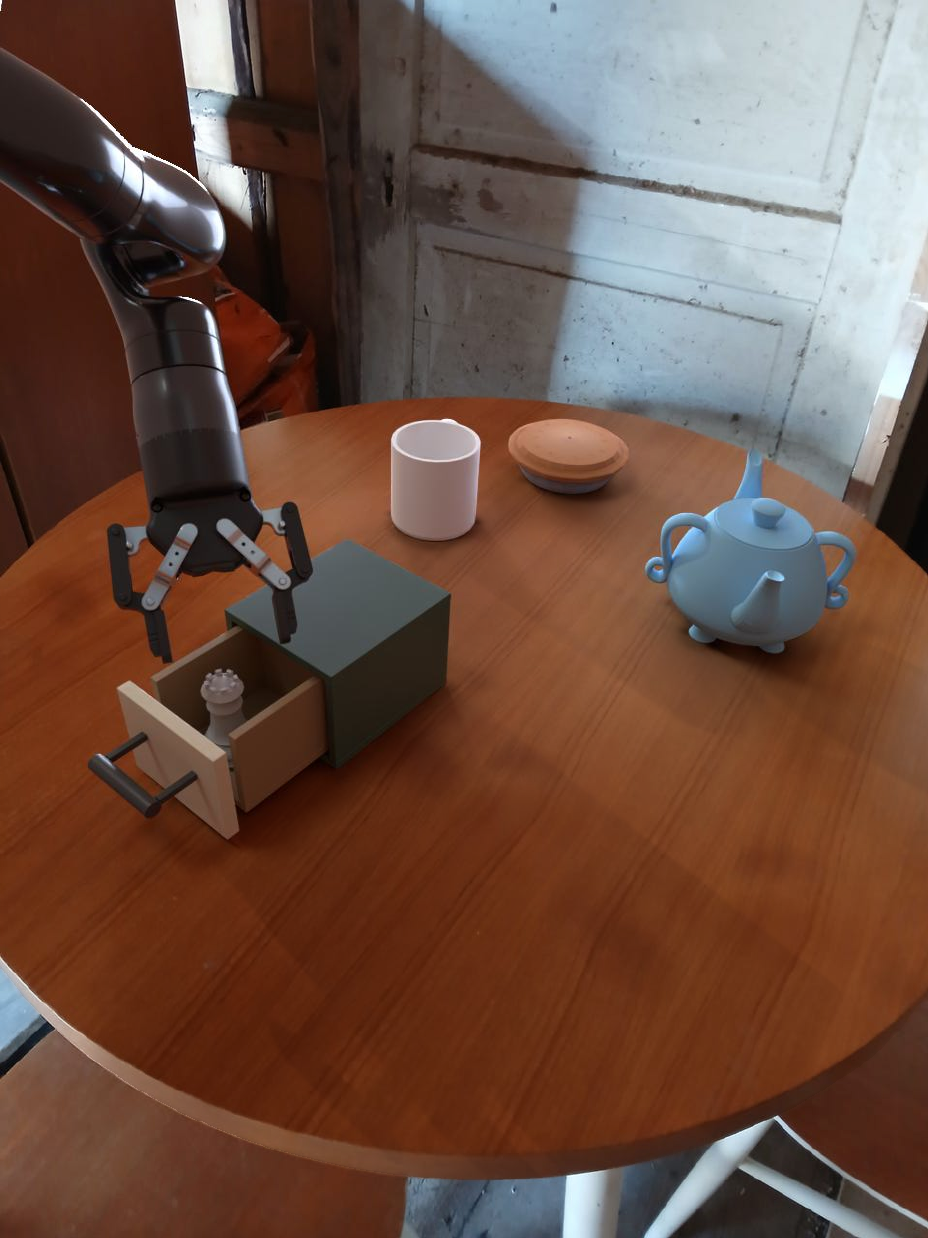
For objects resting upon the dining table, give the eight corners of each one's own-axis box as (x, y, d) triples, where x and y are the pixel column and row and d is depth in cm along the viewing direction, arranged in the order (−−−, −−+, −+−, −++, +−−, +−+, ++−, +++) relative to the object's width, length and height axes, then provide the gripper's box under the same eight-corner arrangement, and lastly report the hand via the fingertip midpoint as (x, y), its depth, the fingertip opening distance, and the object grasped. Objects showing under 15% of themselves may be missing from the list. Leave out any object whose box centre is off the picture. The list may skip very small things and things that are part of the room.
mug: (465, 547, 103) (470, 468, 97) (380, 533, 104) (380, 454, 98) (487, 493, 113) (492, 417, 106) (409, 481, 114) (410, 405, 108)
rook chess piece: (231, 780, 72) (219, 708, 67) (192, 754, 74) (178, 683, 69) (271, 747, 75) (262, 676, 70) (233, 723, 77) (222, 653, 72)
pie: (631, 506, 112) (638, 471, 109) (506, 499, 112) (509, 463, 109) (618, 447, 124) (624, 413, 121) (505, 440, 124) (508, 407, 121)
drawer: (176, 880, 66) (157, 801, 60) (85, 799, 71) (60, 720, 66) (351, 743, 77) (348, 666, 72) (262, 682, 83) (252, 607, 77)
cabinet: (336, 770, 76) (331, 677, 70) (237, 701, 82) (223, 609, 75) (446, 682, 85) (451, 593, 79) (350, 625, 91) (347, 537, 85)
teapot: (737, 697, 86) (778, 578, 77) (614, 586, 99) (636, 473, 90) (856, 649, 92) (905, 534, 84) (725, 550, 105) (756, 442, 97)
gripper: (83, 435, 62) (122, 666, 61) (289, 414, 66) (329, 630, 65) (96, 466, 70) (131, 673, 68) (281, 446, 74) (317, 641, 72)
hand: (228, 652), depth 67 cm, fingers open, 8 cm apart
